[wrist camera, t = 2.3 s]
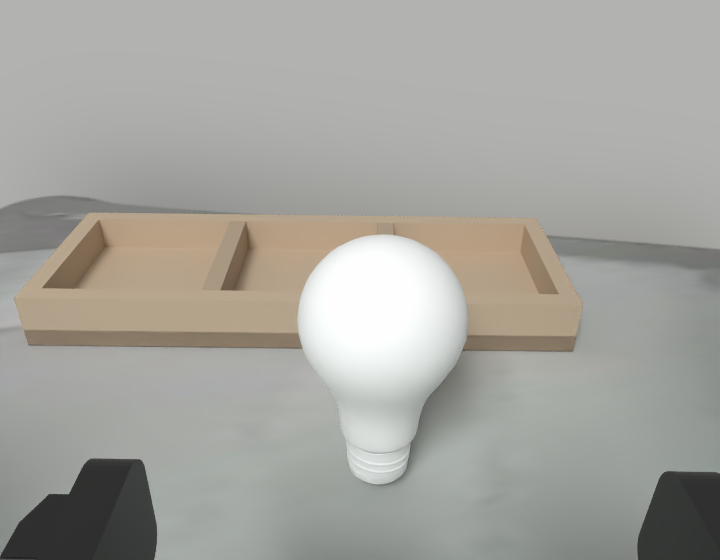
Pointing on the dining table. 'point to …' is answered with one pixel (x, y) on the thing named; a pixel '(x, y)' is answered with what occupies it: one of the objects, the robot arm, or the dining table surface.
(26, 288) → the wooden compartment tray
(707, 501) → the robot arm
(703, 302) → the dining table surface
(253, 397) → the dining table surface
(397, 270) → the lightbulb
